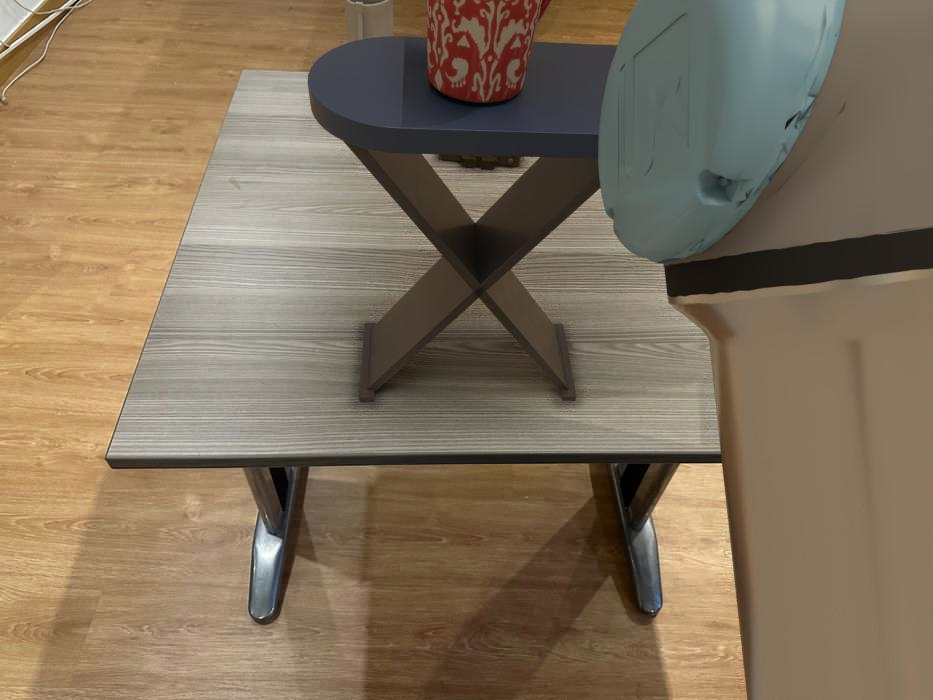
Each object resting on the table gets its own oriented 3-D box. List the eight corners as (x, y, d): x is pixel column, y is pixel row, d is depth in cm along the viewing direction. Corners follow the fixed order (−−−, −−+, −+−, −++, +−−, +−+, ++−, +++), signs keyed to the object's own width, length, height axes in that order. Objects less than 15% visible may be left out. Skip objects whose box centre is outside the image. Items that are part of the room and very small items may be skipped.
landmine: (433, 149, 98) (442, 100, 108) (433, 165, 100) (441, 114, 110) (525, 158, 98) (525, 107, 108) (523, 173, 100) (523, 122, 110)
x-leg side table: (559, 320, 81) (629, 45, 55) (577, 413, 72) (670, 136, 46) (349, 319, 79) (317, 32, 52) (340, 414, 70) (296, 124, 43)
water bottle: (358, 104, 110) (347, -61, 91) (403, 111, 110) (401, -53, 91) (341, 132, 104) (325, -38, 85) (388, 140, 104) (382, -30, 85)
